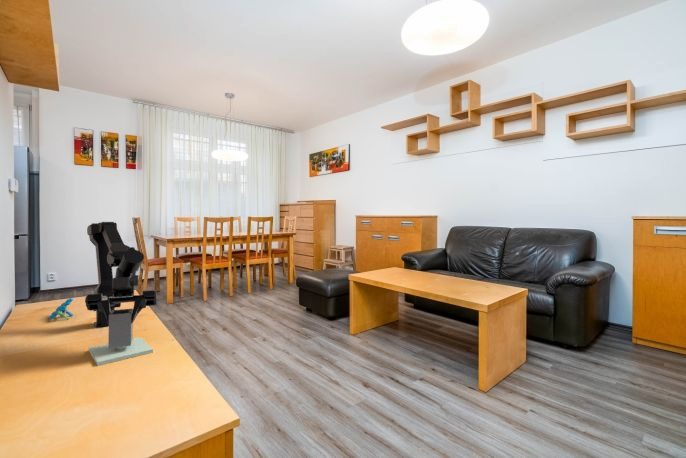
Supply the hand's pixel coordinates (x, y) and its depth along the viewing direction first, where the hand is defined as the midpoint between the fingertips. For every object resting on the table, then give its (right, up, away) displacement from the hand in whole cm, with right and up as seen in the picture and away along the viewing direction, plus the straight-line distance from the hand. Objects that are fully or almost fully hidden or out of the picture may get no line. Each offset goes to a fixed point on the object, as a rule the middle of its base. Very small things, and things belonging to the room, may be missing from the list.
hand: (120, 323), depth 101 cm
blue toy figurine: (-45, -7, +32) cm, 55 cm away
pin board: (-1, -9, +2) cm, 9 cm away
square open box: (-1, -7, +1) cm, 7 cm away
